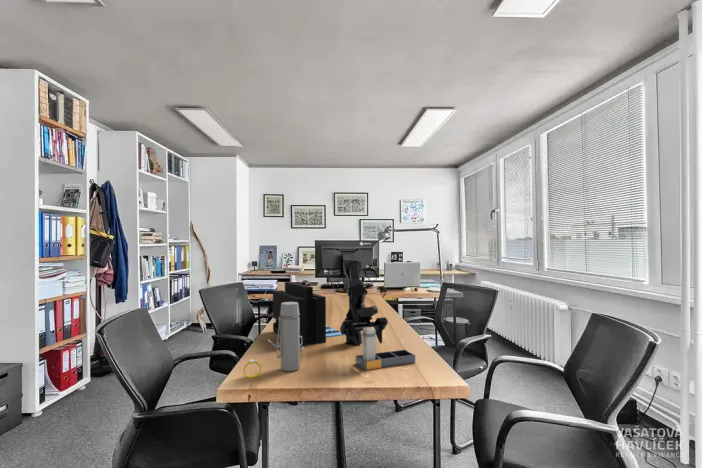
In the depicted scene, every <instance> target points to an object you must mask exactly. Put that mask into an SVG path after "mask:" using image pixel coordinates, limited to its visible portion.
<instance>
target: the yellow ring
mask: <svg viewBox="0 0 702 468" xmlns="http://www.w3.org/2000/svg"><path fill="white" fill-rule="evenodd" d="M249 364H256V365H258V366H259V370H258V372H257V373H256V374H253V375H248V374H247V373H246V371H245V370H246V367H248V365H249ZM261 372H262V370H261V364H260V363H259V361H257V359H249V360H248V362H246V363H245V364H244V365H243V374H244V376H245V377H246V378H250V379H251V378H257V377H258V376H259V375H260V374H261Z"/></svg>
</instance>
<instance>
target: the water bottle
mask: <svg viewBox="0 0 702 468" xmlns="http://www.w3.org/2000/svg"><path fill="white" fill-rule="evenodd" d="M280 315H281V316H280V317H282V318H280V317H278V319H279V328H280V336H279V329H278V334H277V340H276V344H277V345H276V346H277V347H275V348H276V350H275V354H276V359H280V369H281V370H282V371H285V372H295V371H297V370H299V369H300V366H301V365H300V364H301V362H300V361H301V359H300V357H301V353H300V351H301V350H300V349H301V347H300V318H299V317H298V316H300V314H299V305H298V302H284V303H281V311H280ZM280 322H281V327H280ZM278 343H280V344H278ZM278 345H280V348H278ZM278 349H280V350H279V353H280V354H278Z"/></svg>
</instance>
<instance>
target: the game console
mask: <svg viewBox="0 0 702 468" xmlns="http://www.w3.org/2000/svg"><path fill="white" fill-rule="evenodd" d="M326 298H327V297H326V296H324V295H320V294H316V293H314V289H313V286H311V285H310V286H309V285H306V284H303V283H298V282H293V281H284V290H272V318H273V319H275V322H273V323H272V330H273V331H274V332H273V331H272V332H273V333H275V334H276V333H277V335H278V329H279V335H280V328H279V319H278V317H280V316H281V315H280V311H281V303H284V302H298V305H299V314H300V316H298V317H299V318H300V336H302V339H303V343H302V345H300V346H303V347H305V346H309V345H315V344H316V345H317V344H325V343H327V337H328V338H333V336H334V337H340V335H341V336H345V334H341V331H339V330H338V329H335V328H333V327H330V326H329V325H327V321H326V320H327V318H326V317H327V314H326V313H327V305H326V304H327V302H326V300H327V299H326ZM280 318H282V317H280ZM280 327H281V322H280ZM300 344H301V338H300Z"/></svg>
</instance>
